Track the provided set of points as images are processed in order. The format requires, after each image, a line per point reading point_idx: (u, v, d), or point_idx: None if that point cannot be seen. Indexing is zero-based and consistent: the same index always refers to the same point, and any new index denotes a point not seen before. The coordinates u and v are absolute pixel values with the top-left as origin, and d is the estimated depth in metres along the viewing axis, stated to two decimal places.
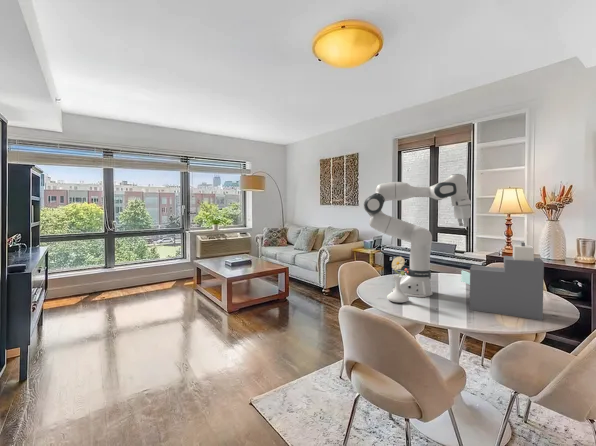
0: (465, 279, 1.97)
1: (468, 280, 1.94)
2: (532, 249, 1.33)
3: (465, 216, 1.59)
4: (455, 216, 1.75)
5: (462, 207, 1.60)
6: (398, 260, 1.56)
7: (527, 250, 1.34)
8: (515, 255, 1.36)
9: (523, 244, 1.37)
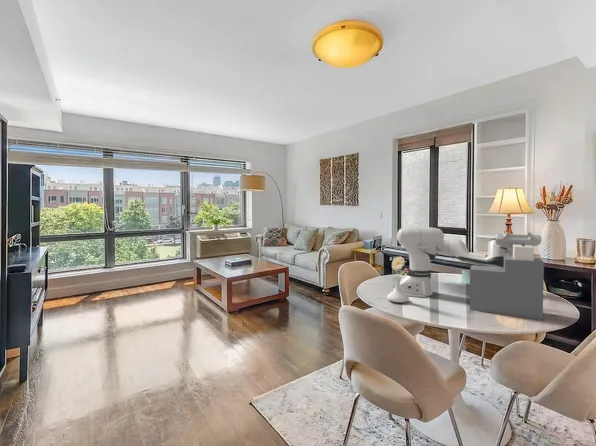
0: (466, 279, 1.96)
1: (469, 280, 1.94)
2: (532, 249, 1.33)
3: (495, 238, 1.67)
4: (533, 241, 1.57)
5: None
6: (398, 260, 1.56)
7: (527, 250, 1.34)
8: (515, 255, 1.36)
9: (523, 244, 1.37)
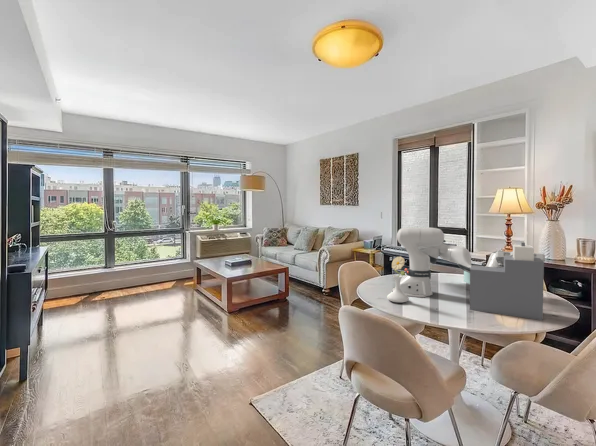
0: (468, 279, 1.96)
1: None
2: (532, 249, 1.33)
3: (495, 256, 1.57)
4: None
5: None
6: (398, 260, 1.56)
7: (527, 250, 1.34)
8: (515, 255, 1.36)
9: (523, 244, 1.37)
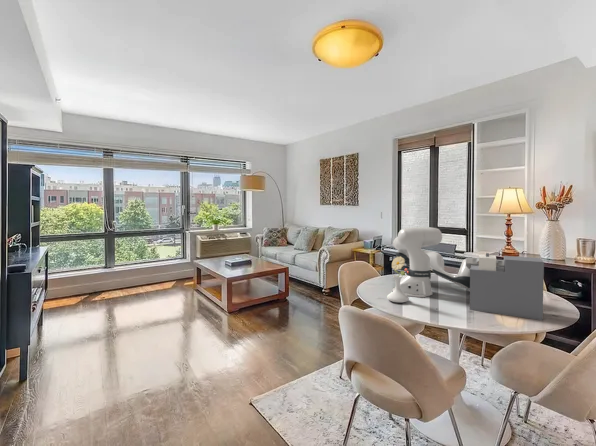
0: None
1: None
2: (494, 260, 1.41)
3: (465, 262, 1.64)
4: (502, 267, 1.55)
5: None
6: (398, 260, 1.56)
7: (490, 261, 1.42)
8: (479, 265, 1.44)
9: (487, 255, 1.45)
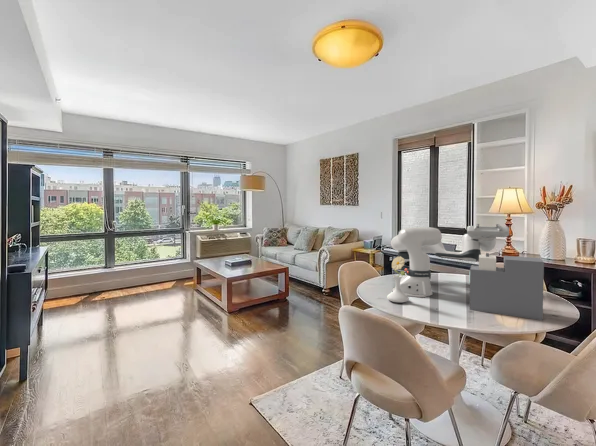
0: None
1: None
2: (494, 260, 1.41)
3: (467, 230, 1.74)
4: (502, 233, 1.64)
5: None
6: (398, 260, 1.56)
7: (490, 261, 1.42)
8: (479, 265, 1.44)
9: (487, 255, 1.45)
